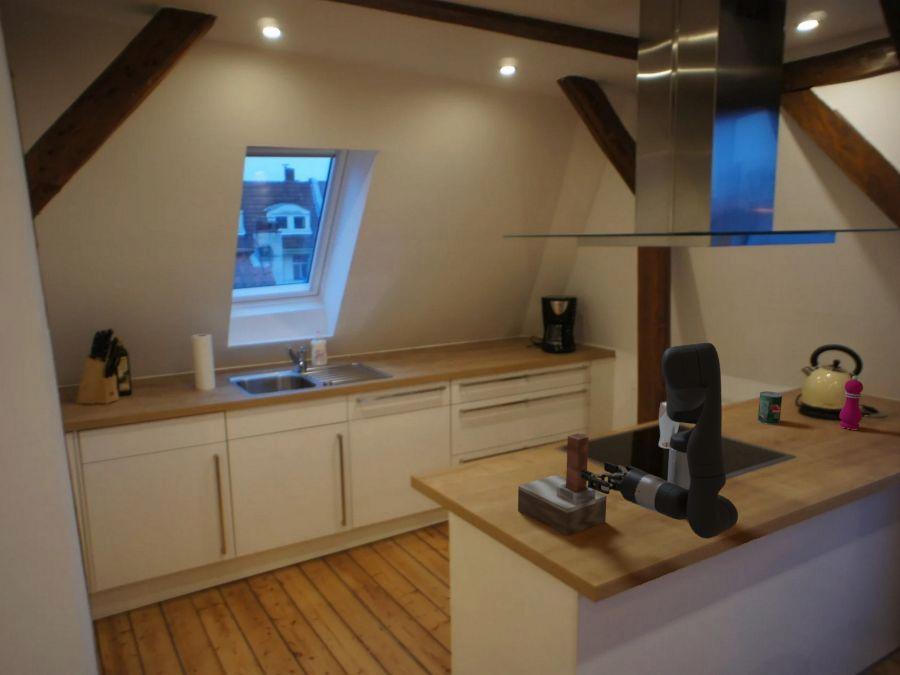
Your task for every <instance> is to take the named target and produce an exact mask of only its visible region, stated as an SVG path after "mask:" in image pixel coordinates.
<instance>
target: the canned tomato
mask: <svg viewBox="0 0 900 675" xmlns="http://www.w3.org/2000/svg"><path fill="white" fill-rule="evenodd" d="M758 400H759V402H758V411H757V422H759V421H760V422H759V423H761V422H763V423H762V424H765V423H767V424H766V425H779V424H780V423H781V414H782V412H781V411H782V403H783V402H782V400H783V394H781V393H779V392H777V391H776V392H775V391H766V390H765V391H760V392H759V399H758ZM778 423H779V424H778Z"/></svg>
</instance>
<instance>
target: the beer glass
mask: <svg viewBox="0 0 900 675" xmlns="http://www.w3.org/2000/svg"><path fill="white" fill-rule="evenodd" d="M666 402H667V401H661V402H660V406H659V412H658V423H659V424H658V425H659V435H660V436H659V441H658V447H660V448H662V449H665V450H669V448H670V438H671V436H672V435H673V434H675V433H678V431H679V426H680V423H679V422H674V421H672V420H671V419H670V418H669V417H668V414H667V410H666Z"/></svg>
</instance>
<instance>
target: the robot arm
mask: <svg viewBox="0 0 900 675" xmlns="http://www.w3.org/2000/svg"><path fill="white" fill-rule="evenodd" d="M661 370H662V375H663V378H664V381H665V394H666V401H665V402H666V410H667V414H668V417H669V418H670V419H671V420H672V421H674V422H679V424H680V423H682V424H691V425H694V426H693V427H691V428H689V429H687V430H683V431H679V432H678V431H677V433H675V434H673V435H672V436H671V438H670V448H669V449H668V450H669V452H668V465H667V466H668V469H667V480H665V479H663V478H662V477H658V476H655V475H653V474H650V473H648V472H646V471H645V470H642V469H639V468H637V467H635V466H632V465H630V464H625V465H624V466H623V465H617V464H614V463H611V462H609V461H607V462H604V463H603V464H604V465H603V466H604V467H603V470H604V471H605V472H602V473H598V474H597V473H594V472H591V471H589V470H588V469H587V470H584V469H582V470H581V471H580V477H581V479H584V480H586V481H587V486H588V487H589V488H591V489H594V490H595V491H596V492H599V493H601V494H603V495H609V494H610V491H611V490H613V491H614V492H620V494H621V495H622V498H623V499H624V500H625V501H627V502H630V503H631V504H634V505H637V506H639V507H641V508H644V509H646V510H649V511H652V512H656V513H658V514H661V515H663V516H666V517H668V518H671V519H674V520H679V521H682V520H683V521H684V520H687V522H688V526H689V527H690V528H691V531H693V533H694V534H695V535H696V536H698V537H700V538H702V539H707V540H708V539H712V538H714V537H717V536H718V535H720V534H723V533H725V532H726V531H728V530H731V528H733V527H734V526H735V525H736V524H737V522H738V521H739V520H738V519H739V513H738V509H737V507H736V506H735V504H734V503H733V502H732V501H731V500H730V499H728V498H726V497H725V496H722V495H720V494H719V493H720V492H721V490H722V489H723V488H724V487H725V485H726V482H727V475H726V467H725V459H724V452H723V441H722V440H723V439H722V424H723V422H722V420H723V419H722V418H723V417H722V415H723V414H722V413H723V410H722V409H723V407H722V406H723V405H722V404H723V403H722V399H723V398H722V374H721V363H720V358H719V354H718V351H717V348H716V347H715V345H714V343H711V342H701V343H692V344H683V345H675V346H674V345H673V346H671V347H669V348H666V349H665V351H664V352H663V355H662V358H661ZM606 478H607V480H606Z"/></svg>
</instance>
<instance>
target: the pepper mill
mask: <svg viewBox="0 0 900 675" xmlns="http://www.w3.org/2000/svg"><path fill="white" fill-rule="evenodd" d="M844 390H845V392H844V393H845V403H844V405H843V407H842V409H840V412H839V420H841V421H840V423H839V427H840V426H841V427H844V428H850V429H858V428H859V429H860V424H859V423H860V422H861V421H862V419H863V418H862V417H863V416H862V412H861V408H860V405H859V402H860V398H862V397H861V395H862V394H861V393H862V392H863V390H864V385H863V383H862V382H861V381H860V380H858V377H857V376H856V375H853V376H852V378H851V379H850V380H849V379H848V380H847V381H846V382H845V383H844ZM841 427H840V428H841Z"/></svg>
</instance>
